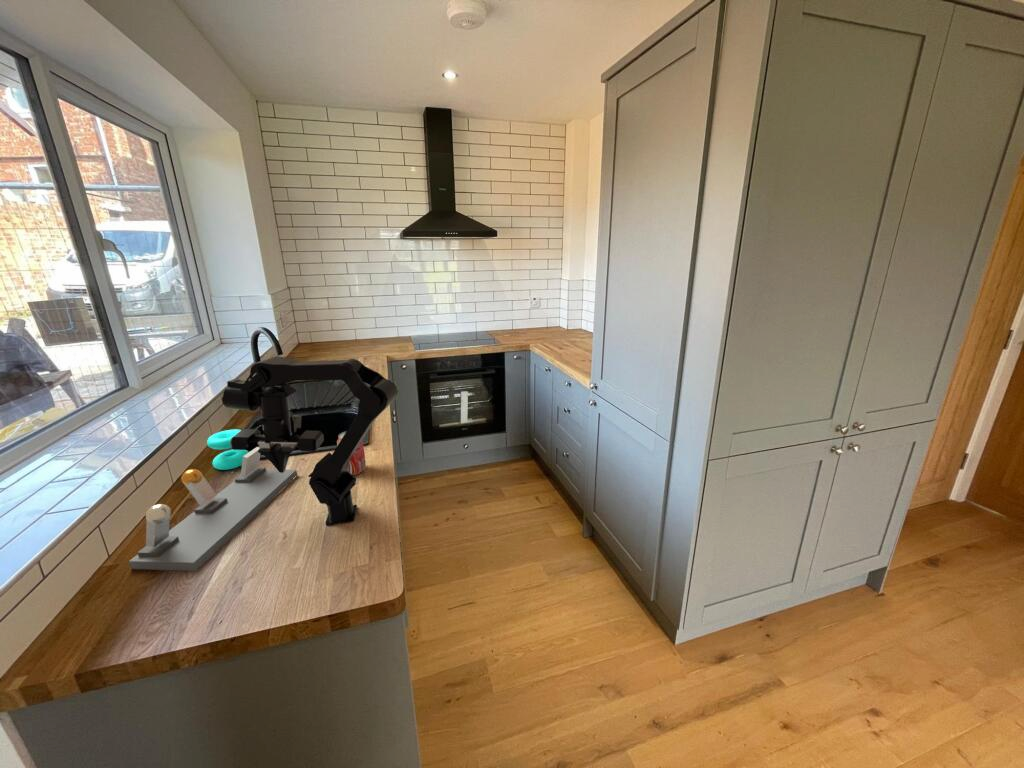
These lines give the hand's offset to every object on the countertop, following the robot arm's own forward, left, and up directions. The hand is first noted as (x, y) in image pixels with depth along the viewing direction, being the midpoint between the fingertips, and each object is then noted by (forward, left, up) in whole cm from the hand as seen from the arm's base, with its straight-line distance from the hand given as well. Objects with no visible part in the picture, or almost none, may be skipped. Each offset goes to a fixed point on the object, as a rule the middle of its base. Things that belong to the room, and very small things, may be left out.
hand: (282, 471), depth 99 cm
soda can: (+19, -13, -12) cm, 26 cm away
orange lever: (+5, +19, -8) cm, 22 cm away
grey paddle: (+19, +15, -8) cm, 26 cm away
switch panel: (+4, +15, -12) cm, 20 cm away
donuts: (+34, +25, -12) cm, 44 cm away
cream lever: (-9, +23, -8) cm, 27 cm away
